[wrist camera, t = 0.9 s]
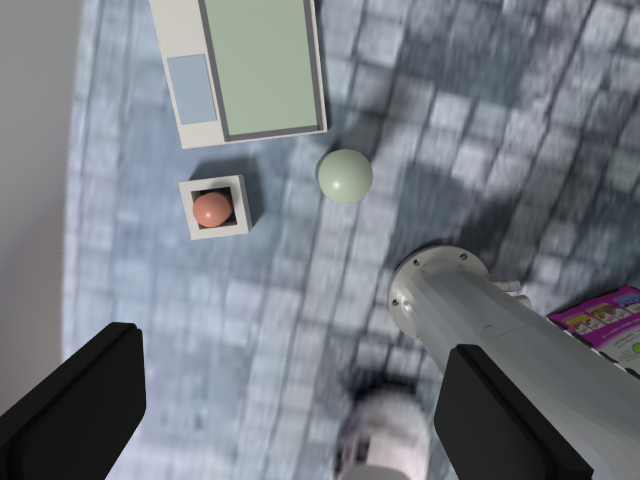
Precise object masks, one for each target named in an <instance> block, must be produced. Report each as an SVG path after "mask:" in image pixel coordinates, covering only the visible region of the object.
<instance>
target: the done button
mask: <svg viewBox="0 0 640 480" xmlns="http://www.w3.org/2000/svg"><path fill="white" fill-rule="evenodd" d="M232 212H233V203H232V201H231V199H230V198H229V197H228V196H227V195H226V194H225V193H222V192H218V191H216V192H211V193H208V194H206V195H203V196H201V197H199V198H198V199H196V201H195V202H194V204H193V215H194V217H195V219H196V220H197V222H198V223H200V224H201V225H203V226H206V227H216V226H218V225H220V224H221V223H222V222H224V221H225V220H226V219H228V218H229V217H230V216H231V214H232Z"/></svg>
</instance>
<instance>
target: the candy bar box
mask: <svg viewBox="0 0 640 480" xmlns="http://www.w3.org/2000/svg"><path fill="white" fill-rule="evenodd" d="M546 320H548V321H549V322H551V323H552V324H554V325H555V326H557V327H558V328H560V329H561V330H563V331H564V332H566V333H567V334H569V335H570V336H572V337H573V338H574V339H576V340H577V341H579V342H580V343H582V344H583V345H585V346H586V347H588V348H589V349H591V350H593V351H594V352H596V353H597V354H599V355H600V356H602V357H603V358H605V359H607V360H608V361H610V362H611V363H613V364H615V365H616V366H618V367H619V368H621V369H623V370H624V371H626V372H627V373H629V374H631V375H632V376H634V377H635V378H637V379H639V380H640V290H639V289H637V288H634V287H632V286H629V285H626V286H623V287H620V288H618V289H615V290H613V291H610V292H608V293H605V294H603V295H600V296H598V297H595V298H593V299H590V300H588V301H585V302H583V303H580V304H578V305H575V306H573V307H571V308H568V309H566V310H563V311H560V312H558V313H555V314H553V315H550V316H548V317H546Z"/></svg>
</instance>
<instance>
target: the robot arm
mask: <svg viewBox="0 0 640 480" xmlns="http://www.w3.org/2000/svg"><path fill="white" fill-rule="evenodd" d="M461 254H462V255H461ZM460 255H461V256H460ZM414 260H416V261H415V262H413V261H414ZM520 288H521V285H520V282H519V281H518V280H517V279H510V280H504V281H497V280H496V279H494V278H493V277H491V276H490V275H489V272H488V270H487V268H486V267H485V265H484V263H483V262H482V261H481V260H480V259H479V258H478V257H477V256H475V255H474V254H472V253H470V252H469V251H467V250H465V249H463V248H460V247H457V246H453V245H435V246H430V247H427V248H424V249H421V250H419V251H417V252H415V253H413V254H412V255H411V256H409V257H408V258H407V259H405V260H404V261H403V262H402V263H401V264H400V265H399V267H398V268H397V269H396V271H395V272H394V274H393V276H392V278H391V280H390V283H389V286H388V291H387V304H388V308H389V312H390V314H391V316H392V318H393V320H394V322H395V323H396V325H397V326H398V327H399V328H400V329H401V330H402V331H403V332H404V333H405V334H407V335H408V336H410V337H412V338H414V339H416V340H420V341H422V343H423V344H424V346H425V347H426V349H427V351H428V352H429V354H430V355H431V357H432V358H433V360H434V362H435V363H436V365H437V366H438V368H439V370H440V371H441V373H442V374H443V376H444V378H443V382H442V386H441V391H440V395H439V399H438V403H437V407H436V411H435V415H434V426H435V430H436V432H437V434H438V436H439V439H440V441H441V443H442V445H443V447H444V449H445V451H446V453H447V455H448V457H449V459H450V462H451V464H452V466H453V468H454V470H455V472H456V474H457V476H458V478H459V480H640V380H639V379H637V378H635V377H634V376H632V375H631V374H629V373H627V372H626V371H624V370H623V369H621V368H619V367H618V366H616V365H615V364H613V363H611V362H610V361H608V360H607V359H605V358H603V357H602V356H600V355H599V354H597V353H596V352H594V351H593V350H591V349H589V348H588V347H586V346H585V345H583V344H582V343H580V342H579V341H577V340H576V339H574V338H573V337H572V336H570V335H569V334H567V333H566V332H564V331H563V330H561V329H560V328H558V327H557V326H555V325H554V324H552V323H551V322H549V321H548V320H546V319H545V318H543V317H542V316H540V315H539V314H537V313H536V312H534V311H533V310H531V302H530V300H529V298H528V297H527V296H525V295H520V296H511V295H509V294H508V293H506V292H514V291H519V290H520ZM393 300H395V301H393ZM145 410H146V389H145V371H144V354H143V336H142V331H141V329H137V327H136V325H135V324H134V323H121V322H112V323H110V324H108V325H107V326H106V327H105V328H104V329H103V330H101V331H100V332H99V333H98V334H97V335H96V336H94V337H93V338H92V339H91V340H90V341H89V342H87V343H86V344H85V345H84V346H83V347H81V348H80V349H79V350H78V351H77V352H76V353H74V354H73V355H72V356H71V357H70V358H69V359H67V360H66V361H65V362H64V363H63V364H62V365H60V366H59V367H58V368H57V369H56V370H55V371H53V372H52V373H51V374H50V375H49V376H48V377H46V378H45V379H44V380H43V381H42V382H40V383H39V384H38V385H37V386H36V387H35V388H33V389H32V390H31V391H30V392H29V393H27V394H26V395H25V396H24V397H23V398H22V399H20V400H19V401H18V402H17V403H16V404H15V405H13V406H12V407H11V408H10V409H9V410H7V411H6V412H5V413H4V414H3V415H2V416H1V417H0V480H105V478H106V477H107V475H108V473H109V472H110V470H111V469H112V467H113V465H114V464H115V462H116V460H117V459H118V457H119V456H120V454H121V452H122V451H123V449H124V448H125V446H126V444H127V443H128V441H129V440H130V438H131V436H132V435H133V433H134V432H135V430H136V428H137V427H138V425H139V423H140V422H141V420H142V418H143V416H144V414H145Z"/></svg>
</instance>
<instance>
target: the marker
mask: <svg viewBox="0 0 640 480" xmlns="http://www.w3.org/2000/svg"><path fill="white" fill-rule="evenodd" d="M316 178H317V181H318V183H319V185H320V187H321V189H322V191H323V193H324V194H325V195H326V196H327V197H328V198H329V199H330V200H332V201H334V202H336V203H339V204H351V203H354V202H357V201H359V200H360V199H362V198H363V197H364V196H365V195H366V194H367V192H368V191H369V189H370V187H371V184H372V179H373V173H372V168H371V165H370V163H369V161H368V160H367V159H366V157H365V156H364V155H362V154H361V153H359V152H357V151H355V150H351V149H342V150H337V151H333V152H330V153H327V154H325V155H324V156H323V157H322V158H321V159H320V160H319V162H318V163H317V166H316Z"/></svg>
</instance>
